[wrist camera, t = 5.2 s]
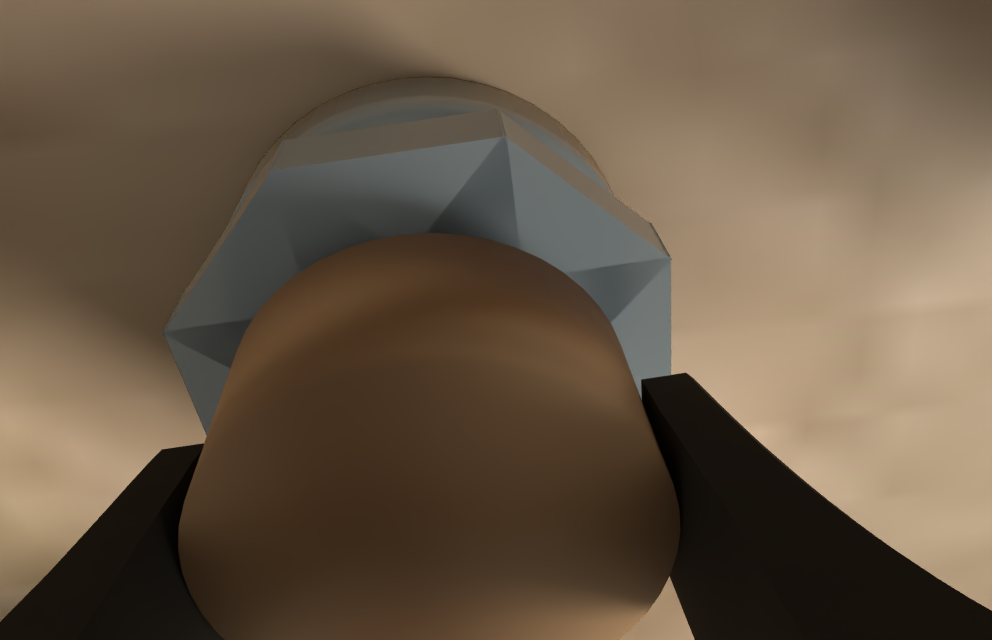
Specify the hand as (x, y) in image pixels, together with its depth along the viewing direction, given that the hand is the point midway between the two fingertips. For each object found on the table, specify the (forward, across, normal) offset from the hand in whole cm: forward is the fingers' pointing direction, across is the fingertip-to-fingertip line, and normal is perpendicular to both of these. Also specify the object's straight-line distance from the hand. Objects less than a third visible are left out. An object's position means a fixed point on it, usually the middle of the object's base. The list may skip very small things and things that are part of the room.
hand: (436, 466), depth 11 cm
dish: (+6, 0, 0) cm, 6 cm away
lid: (+1, 0, 0) cm, 1 cm away
